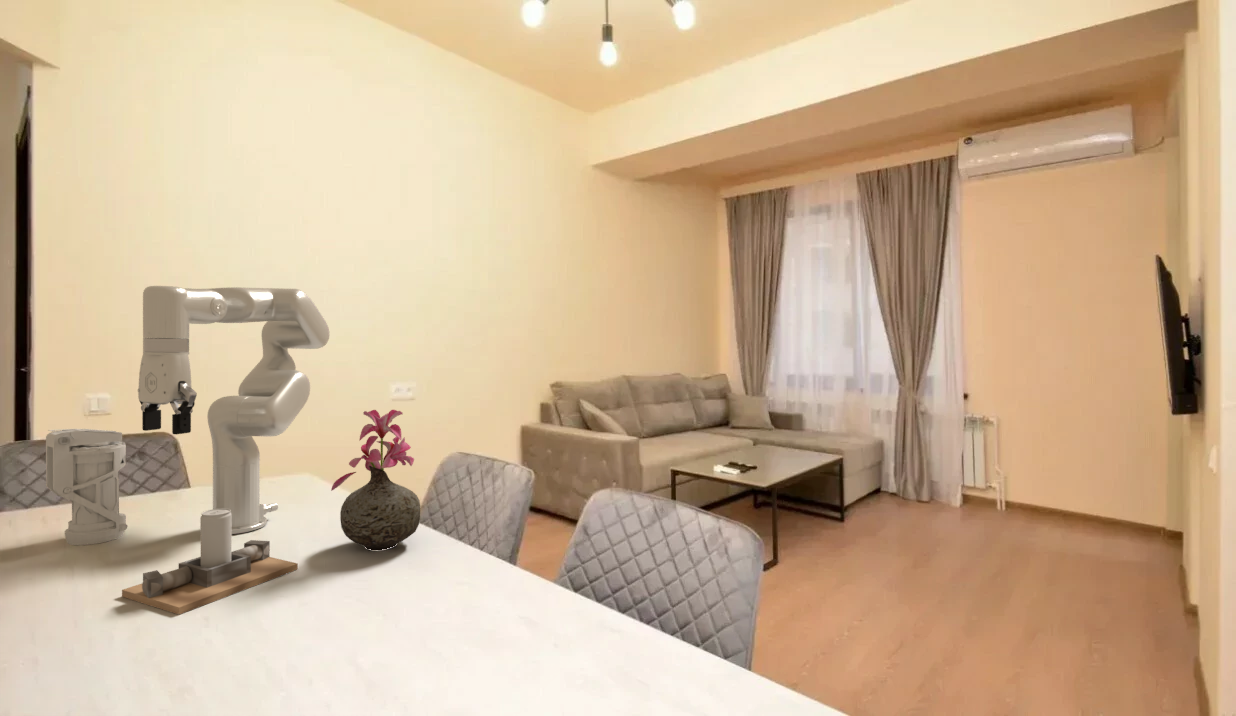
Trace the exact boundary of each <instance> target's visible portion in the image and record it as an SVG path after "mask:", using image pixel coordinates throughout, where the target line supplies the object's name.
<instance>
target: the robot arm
mask: <svg viewBox="0 0 1236 716" xmlns="http://www.w3.org/2000/svg"><path fill="white" fill-rule="evenodd" d="M259 322H260V323H261V322H265V323H264V325H263V327H262V329H261V344H262V345H261V346H262V358H261V359H260V361H259V362H258V363H257V364H256V365H255V366H254V368H252V369H251V370H250V372H249V373H248V374H247V375H246V376H245V377H244V379H243V380H242V381H241V383H240V384H239V386H238V391H237V392H238V393H237V394H238V395H227V396H226V395H225V396H223V397H220V398H218V399H215V400H214V401H213V402H212V403H211V404H210V406H209V407H208V411H207V424H208V429H209V432H210V437H211V444H212V445H211V447H212V509H221V508H225V509H230V510H231V511H230V512H231V514H232V534H231V535H236V534H237V535H238V534H243V533H249V532H252V531H255V530H259V529H261V528H263V527H265V526H266V525H267V524H268V523H267V521H268V520H267V517H265V515H266V514H267V513H271V512H275V511H278V509H279V505H278V504H277V503H276V502H274V503H270V504H267V505H266V504H265V503H263V504H262V503H261V502H260V495H261V494H260V489H261V488H260V481H261V480H260V478H261V476H260V475H261V474H260V473H261V472H260V471H261V468H260V465H261V464H260V461H261V455H260V450H259V446H258V445H257V443H256V441H255V439H254V438H253V437H277V436H280V435H281V434H283V433H285V432H286V430H288V428H289V426H291V424H292V423H293V421H294V420H295V419H296V418H297V416H298V415H299V414H300V412H301V411H302V410H303V409H304V406H305V405H306V403H307V402H308V400H309V396H310V392H311V382H310V380H309V378H308V376H307V374H305V373H304V372H302V371H300V370H296V368H297V367H296V363H295V361H294V359H293V357H292V356H291V355H290V354H289V350H288V349H291V350H292V349H295V350H297V349H299V350H300V349H302V350H304V349H305V350H315V349H321V348H323V347H325V346H326V345H327V343H328V341H329V339H330V329H329V325H328V322H327V321H326V320H325V318H324V316H323V315H322V313H321V312H320V311H319V308H318V307H317V306H316V304H315V303H314V302H313V300H312V299H311V297H309V295H308V294H306V292H304V291H303V290H301V289H298V288H280V287H279V288H273V287H238V286H237V287H235V286H234V287H230V286H229V287H228V286H227V287H214V288H212V287H211V288H188V287H187V288H183V287H179V286H170V285H149V286H147V287H145V288H144V290H143V292H142V357H141V360H140V365H139V373H138V374H139V377H138V389H137V395H138V396H137V397H138V398H137V399H138V401H139V402H140V405H141V406H140V410H141V413H142V417H141V418H142V427H141V428H142V431H145V432H146V431H155V430H160V429H162V410H161V409H159V408H160V407H161V405H168V404H170V406H171V408H172V410H173V412H174V414H172V416H171V417H172V419H171V421H172V423H171V424H172V426H171V428H172V429H171V432H172V435H181V434H182V435H183V434H184V435H185V434H190V433H191V432H192V413H193V411H194V410H193V408H194V407H195V404H196V403H195V400H196V398H197V392H196V391H195V390H194V388H192V375H191V374H192V373H191V363H190V358H189V355H190V324H191V325H193V324H194V325H207V324H208V325H209V324H210V325H211V324H215V323H220V324H245V323H259Z"/></svg>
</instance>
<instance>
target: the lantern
mask: <svg viewBox="0 0 1236 716" xmlns="http://www.w3.org/2000/svg"><path fill="white" fill-rule="evenodd" d="M47 431H50V432H49V433H48V434H46V435H45V484H46V485H45V486H46V488H47V489H48V490H50V491H51V492H52V493H53V494H54V495H56V496H57V497H60V498H61V497H62V498H63V499H64V500H69V501H71V520H69V521H68V525H67V528H66V529H65V530H64V537H65V540H66V544H68V545H72V546H86V545H97V544H101V543H107V542H110V541H114V540H116V539H119V538H121V537H122V536H124V534H125V530H127V529H128V524H127V515H126V514H125V513H122V512H120V470H122V469H123V468H124V467H126V465H127V462H126V461H127V460H126V459H127V455H126V454H127V445H126V442H125V441H123V432H121V431H117V430H108V429H107V430H105V429H91V428H63V429H62V428H61V429H59V430H58V429H48V430H47Z"/></svg>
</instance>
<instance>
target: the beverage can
mask: <svg viewBox="0 0 1236 716" xmlns="http://www.w3.org/2000/svg"><path fill="white" fill-rule="evenodd" d="M230 511H231V510H230V509H225V508H221V509H213V508H212V509H208V510H205V511H202V512H201V513H200V514H201V516H200V520H199V523H200V526H199V527H200V529H199V530H200V557H201V567H204V568H208V569H209V568H212V567H215V566H218V565H221V564H224V563H228V562H231V552H232V535H233V534H232V514H231V512H230Z"/></svg>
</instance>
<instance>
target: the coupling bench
mask: <svg viewBox="0 0 1236 716" xmlns="http://www.w3.org/2000/svg"><path fill="white" fill-rule="evenodd" d="M270 548H271V546H270V540H259V539H258V540H256V539H255V540H254V539H251V540H249V541H246V542H244V544H243V548H240V549H236V550H233V551H231V562H228V563H224V564H221V565H218V566H215V567H212V568H209V569H208V568H204V567H201V556H199V557H195V558H192V559H188V560H186V561H182V562H178V568H175V569H173V570H169V571H167V572H164V573H161V572H160V571H159V570H152V571H147V572H143V573H142V582H141V583H139V584H136V585H133V586H130V587H127V588H124V589H122V590H121V597H122V598H125V599H128V600H131V601H134V602H138V603H141V604H144V605H147V606H151V607H154V608H157V609H160V610H164V611H165V612H168V613H169V612H170V613H172V614H173V613H174V614H176V615H182V614H185V613H188V612H190V611H192V610H195V609H198V608H201V607H203V606H206V605H208V604H211V603H213V602H217V601H219V600H221V599H224V598H226V597H229V596H232V595H234V594H237V593H240V592H242V591H245V590H247V589H251V588H253V587H255V586H257V585H261V584H263V583H265V582H269V581H271V580H274V579H276V578H279V577H282V576H285V575H286V573H287V574H290V573H292V572H294V570H295V571H298V570H297V569H299V563H298V562H292V561H288V560H285V559H281V558H280V559H279V558H275V557H271V556H270V555H271V554H270V553H271V551H270V550H271V549H270ZM289 572H290V573H289ZM281 575H282V576H281Z"/></svg>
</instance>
